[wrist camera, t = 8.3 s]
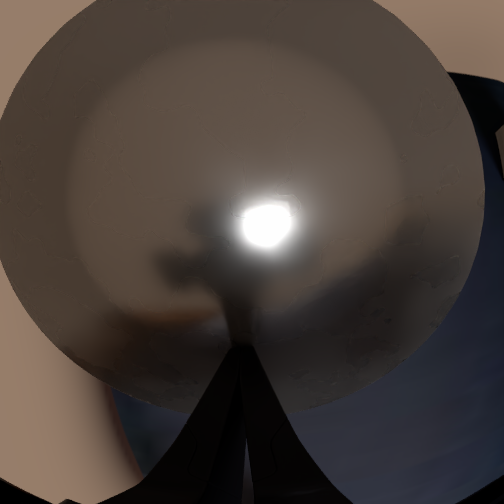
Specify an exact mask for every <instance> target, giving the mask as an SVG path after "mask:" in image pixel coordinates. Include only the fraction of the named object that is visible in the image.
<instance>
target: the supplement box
mask: <svg viewBox="0 0 504 504" xmlns="http://www.w3.org/2000/svg"><path fill="white" fill-rule="evenodd" d="M496 138H497V142H498V147H499V152H500V157H501V163H502V169H503V176H504V125H503V126H502V127H501V128H500V129H499V130H498V131H497V132H496Z"/></svg>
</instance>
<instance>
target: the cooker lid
mask: <svg viewBox="0 0 504 504" xmlns="http://www.w3.org/2000/svg"><path fill="white" fill-rule="evenodd" d="M484 194H485V187H484V176H483V166H482V158H481V153H480V149H479V145H478V141H477V137H476V134H475V130H474V127H473V123H472V120H471V118H470V115H469V113H468V111H467V109H466V106H465V104H464V102H463V100H462V98H461V96H460V94H459V92H458V90H457V88H456V86H455V84H454V82H453V81H452V79H451V78H450V76H449V75H448V73H447V72H446V70H445V69H444V68H443V66H442V65H441V63H440V62H439V61H438V59H437V58H436V56H435V55H434V54H433V53H432V51H431V50H430V49H429V48H428V47H427V45H425V43H424V42H423V41H422V40H421V39H420V38H419V37H418V36H417V35H416V34H415V33H414V32H413V31H412V30H410V29H409V28H408V27H407V26H406V25H405V24H404V23H403V22H402V21H401V20H399V19H398V18H397V17H396V16H395V15H394V14H392V13H391V12H389V11H388V10H386V9H385V8H383V7H382V6H380V5H379V4H377V3H376V2H374V1H373V0H96V1H95V2H93V3H92V4H91V5H89V6H88V7H87V8H85V9H84V10H82V11H81V12H80V13H78V14H77V15H76V16H74V17H73V18H72V19H71V20H69V21H68V22H67V23H66V24H64V25H63V27H61V28H60V29H59V30H58V31H57V33H55V35H54V36H53V37H52V38H51V39H50V40H49V41H48V42H47V43H46V44H45V45H44V46H43V47H42V49H41V50H40V51H39V52H38V53H37V54H36V56H35V57H34V59H33V60H32V61H31V63H30V64H29V66H28V67H27V69H26V70H25V72H24V74H23V75H22V76H21V78H20V80H19V81H18V83H17V85H16V86H15V88H14V90H13V92H12V94H11V96H10V99H9V101H8V103H7V105H6V108H5V110H4V113H3V115H2V118H1V120H0V259H1V262H2V265H3V268H4V270H5V272H6V275H7V277H8V279H9V281H10V283H11V286H12V287H13V290H14V291H15V293H16V295H17V297H18V298H19V300H20V302H21V303H22V305H23V307H24V308H25V310H26V311H27V313H28V314H29V315H30V317H31V318H32V319H33V321H34V322H35V323H36V324H37V326H38V327H39V328H40V330H41V331H42V332H43V333H44V334H45V335H46V336H47V337H48V338H49V339H50V341H52V343H53V344H54V345H55V346H56V347H57V348H58V349H59V350H61V351H62V352H63V353H64V354H65V355H66V356H67V357H69V358H70V359H71V360H72V361H73V362H75V363H76V364H77V365H78V366H80V367H81V368H83V369H84V370H85V371H87V372H88V373H90V374H91V375H93V376H94V377H96V378H97V379H99V380H101V381H103V382H104V383H106V384H108V385H109V386H111V387H113V388H115V389H117V390H119V391H121V392H123V393H125V394H127V395H130V396H132V397H134V398H137V399H139V400H142V401H145V402H147V403H150V404H153V405H156V406H159V407H163V408H167V409H170V410H174V411H178V412H183V413H188V414H192V412H193V410H194V409H195V407H196V405H197V404H198V402H199V400H200V398H201V397H202V395H203V393H204V392H205V390H206V388H207V386H208V385H209V383H210V381H211V380H212V378H213V376H214V374H215V373H216V371H217V369H218V367H219V366H220V364H221V362H222V360H223V359H224V357H225V355H226V353H227V352H228V350H229V348H231V347H241V348H242V347H243V346H250V345H252V346H254V348H255V350H256V353H257V355H258V357H259V359H260V361H261V364H262V366H263V368H264V370H265V372H266V374H267V376H268V379H269V381H270V383H271V385H272V387H273V389H274V391H275V393H276V395H277V397H278V400H279V402H280V404H281V406H282V408H283V410H284V412H285V414H290V413H294V412H299V411H303V410H308V409H311V408H315V407H318V406H321V405H324V404H327V403H330V402H333V401H335V400H338V399H340V398H343V397H345V396H348V395H350V394H352V393H354V392H356V391H358V390H360V389H362V388H364V387H366V386H368V385H370V384H371V383H373V382H375V381H376V380H378V379H379V378H381V377H383V376H384V375H386V374H387V373H389V372H390V371H392V370H393V369H394V368H396V367H397V366H398V365H399V364H401V363H402V362H403V361H404V360H406V359H407V358H408V357H409V356H410V355H411V354H413V353H414V352H415V351H416V350H417V349H418V348H419V347H420V346H421V345H422V344H423V343H424V342H425V341H426V340H427V339H428V338H429V336H430V335H431V334H432V333H433V332H434V331H435V329H436V328H437V327H438V326H439V325H440V323H441V322H442V321H443V319H444V318H445V316H446V315H447V313H448V312H449V310H450V309H451V307H452V306H453V304H454V303H455V301H456V299H457V298H458V296H459V294H460V292H461V290H462V288H463V286H464V284H465V282H466V279H467V277H468V275H469V272H470V270H471V267H472V264H473V261H474V258H475V255H476V252H477V249H478V244H479V239H480V235H481V229H482V224H483V215H484Z"/></svg>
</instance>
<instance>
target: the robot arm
mask: <svg viewBox="0 0 504 504" xmlns="http://www.w3.org/2000/svg"><path fill="white" fill-rule="evenodd" d="M186 423H187V424H185V425H184V427H183V429H182V430H181V432H180V434H179V435H178V437H177V438H176V440H175V441H174V443H173V444H172V445H171V447H170V448H169V449H168V451H167V452H166V453H165V455H164V456H163V457H162V458H161V459H160V461H159V462H158V463H157V464H156V465H155V467H154V468H153V469H152V470H151V471H150V473H149V474H148V475H147V476H146V477H145V478H144V479H143V480H142V481H141V482H140V483H139V484H137V485H136V486H134V487H132V488H130V489H128V490H126V491H124V492H122V493H120V494H118V495H116V496H114V497H111V498H109V499H107V500H105V501H102V502H100V503H98V504H241V499H242V487H243V474H244V461H245V448H246V438H247V445H248V453H249V460H250V467H251V475H252V482H253V489H254V504H353V503H352V502H351V501H350V500H349V499H347V498H346V497H345V496H344V495H343V494H342V493H341V492H340V491H339V490H338V489H337V488H336V487H335V486H334V485H333V484H332V483H331V482H330V481H329V480H328V478H327V477H326V476H325V475H324V473H323V472H322V471H321V469H320V468H319V467H318V465H317V464H316V463H315V462H314V460H313V459H312V458H311V456H310V455H309V454H308V452H307V451H306V449H305V448H304V446H303V445H302V443H301V442H300V440H299V439H298V437H297V435H296V433H295V432H294V430H293V428H292V426H291V424H290V422H289V420H288V418H287V416H286V414H285V412H284V410H283V408H282V406H281V404H280V402H279V400H278V397H277V395H276V393H275V391H274V389H273V387H272V385H271V383H270V381H269V379H268V376H267V374H266V372H265V370H264V368H263V366H262V364H261V361H260V359H259V357H258V355H257V353H256V350H255V348H254V346H252V345H250V346H243V347H242V348H241V347H231V348H229V350H228V352H227V353H226V355H225V357H224V359H223V360H222V362H221V364H220V366H219V367H218V369H217V371H216V373H215V374H214V376H213V378H212V380H211V381H210V383H209V385H208V386H207V388H206V390H205V392H204V393H203V395H202V397H201V398H200V400H199V402H198V404H197V405H196V407H195V409H194V410H193V412H192V414H191V415H190V417H189V419H188V420H187V422H186ZM0 504H52V503H50V502H48V501H46V500H44V499H41V498H39V497H37V496H35V495H33V494H30V493H28V492H26V491H24V490H22V489H20V488H18V487H17V486H14V485H13V484H11V483H9V482H7V481H6V480H4V479H2V478H0ZM59 504H80V503H77V502H75V501H72V500H69V499H66V500H64V501H62V502H61V503H59ZM456 504H504V475H502V476H501V477H499V478H498V479H496V480H494V481H493V482H491V483H489V484H488V485H486V486H485V487H483V488H482V489H480V490H478V491H477V492H475V493H473V494H472V495H470V496H468V497H467V498H465V499H463V500H461V501H459V502H458V503H456Z"/></svg>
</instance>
